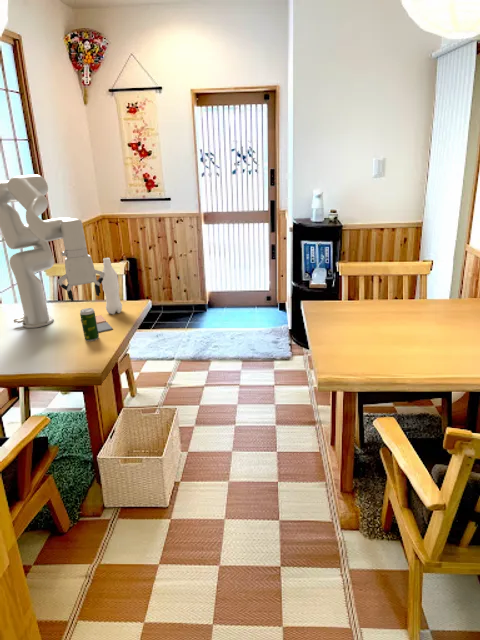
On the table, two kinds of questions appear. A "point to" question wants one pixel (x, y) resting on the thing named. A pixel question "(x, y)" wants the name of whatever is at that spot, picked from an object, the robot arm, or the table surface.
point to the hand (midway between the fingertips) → (85, 297)
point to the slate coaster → (104, 327)
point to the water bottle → (111, 288)
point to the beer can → (89, 324)
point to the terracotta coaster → (99, 319)
